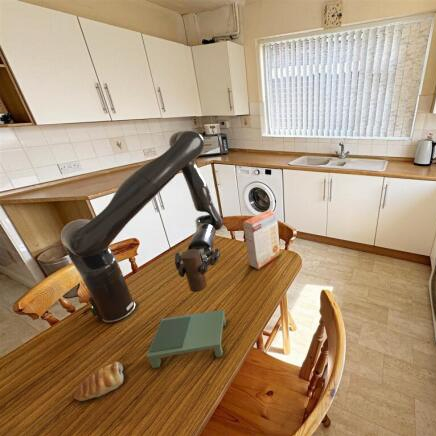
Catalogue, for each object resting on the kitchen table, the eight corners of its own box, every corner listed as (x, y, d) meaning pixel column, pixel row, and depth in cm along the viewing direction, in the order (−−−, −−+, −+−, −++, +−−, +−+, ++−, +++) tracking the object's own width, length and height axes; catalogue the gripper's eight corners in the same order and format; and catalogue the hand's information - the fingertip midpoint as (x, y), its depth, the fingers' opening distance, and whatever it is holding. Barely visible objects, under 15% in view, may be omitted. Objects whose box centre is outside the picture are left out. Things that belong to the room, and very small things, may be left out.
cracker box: (270, 250, 111) (267, 209, 102) (280, 255, 107) (277, 212, 99) (248, 265, 101) (242, 220, 92) (257, 270, 98) (252, 224, 89)
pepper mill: (188, 293, 71) (178, 259, 66) (191, 282, 75) (183, 249, 70) (205, 290, 71) (197, 257, 66) (207, 280, 76) (200, 248, 71)
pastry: (77, 412, 53) (69, 402, 52) (77, 387, 58) (71, 377, 56) (126, 383, 58) (120, 374, 57) (122, 363, 63) (117, 354, 62)
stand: (151, 369, 61) (145, 355, 59) (166, 330, 72) (161, 318, 70) (222, 356, 64) (219, 343, 62) (226, 321, 75) (224, 309, 72)
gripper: (178, 236, 81) (161, 265, 65) (221, 231, 83) (215, 259, 67) (183, 254, 84) (168, 287, 68) (224, 250, 86) (219, 280, 70)
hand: (191, 273), depth 68 cm, fingers closed on pepper mill, 5 cm apart
